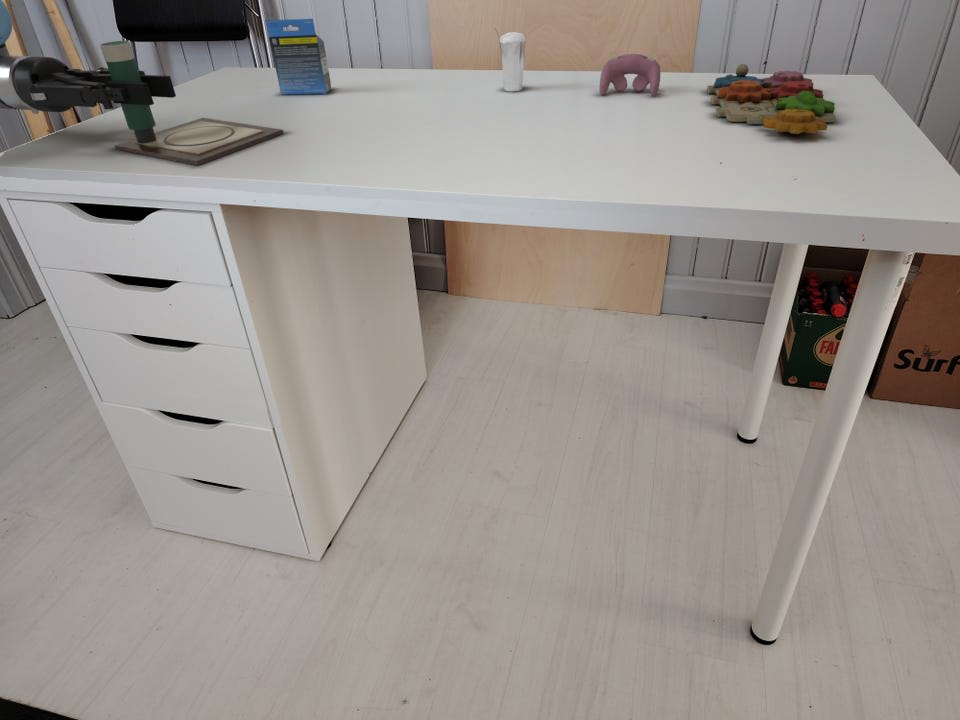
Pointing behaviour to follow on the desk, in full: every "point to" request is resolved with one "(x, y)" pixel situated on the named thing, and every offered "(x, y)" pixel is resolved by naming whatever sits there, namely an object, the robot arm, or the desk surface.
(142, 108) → the marker
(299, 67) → the tape cartridge
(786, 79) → the gear puzzle
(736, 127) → the desk surface
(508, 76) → the milkshake
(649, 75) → the video game controller
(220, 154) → the picture frame
